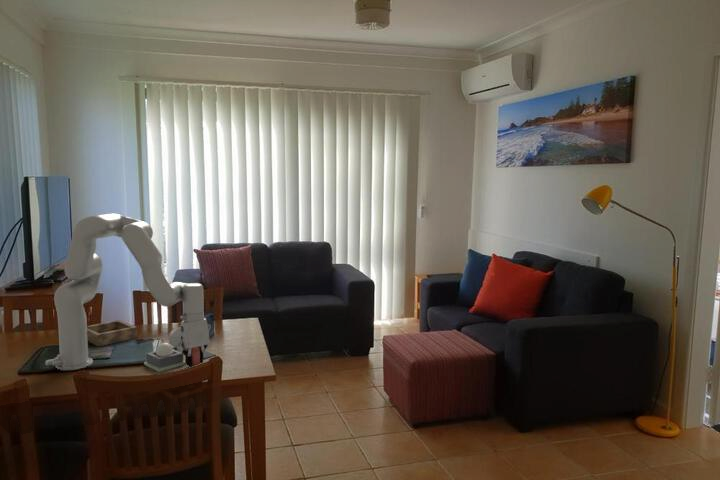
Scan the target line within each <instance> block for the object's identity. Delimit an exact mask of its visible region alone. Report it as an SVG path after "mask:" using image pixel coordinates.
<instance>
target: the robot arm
mask: <svg viewBox="0 0 720 480" xmlns="http://www.w3.org/2000/svg"><path fill="white" fill-rule="evenodd" d="M153 235H154V232H153V228H152V226H151V225H150V224H149V223H148V222H146V221H142V220H141V219H136V218H132V217H128V216H125V215H122V214H119V213H105V214H96V215H91V216H90V215H89V216H86V217H83V218H82V219H80V220H79V221H78V222H77V223H76V224H75V225H74V228H73V231H72V236H71V241H70V245H69V247H68V253H67V256H66V260H65V263H64V264H65V265H64V274H65V276H66V277H67V279H69V280H71V281H69V282H66V283H64V284H62V285H60V286H59V287H58V288H57V289H56V290H55V292H54V295H53V296H54V297H53V301H54V305H55V309H56V314H57V328H58V343H59V344H58V345H59V347H58V348H59V353H58V354H57V355H56V357H54V358H52V359H51V358H50V359H46V360H44V361H45V366H51V365H52V366H55V369H56V368H57V370H59V369H60V370H59V371H74V370H75V371H77V370H81V368H82V369H85V368H88V367H89V366H91V365H93V364H94V360H93V358H91V357H90V356H89V343H88V342H89V341H88V339H87V326H88V323H87V321H88V319H87V314H86V310H85V307H84V304H87V303H88V302H91V300H93V299H94V298H95V296H96V294H97V292H98V288H99V283H100V280H101V276H102V271H103V261H102V259H101V257H100V256H99V255H98V254H97V253H96V250H97V239H103V238H104V239H105V238H109V237H112V236H113V237H118V238H121V240H122V241H123V242H124V245H125V246H126V247H127V249H128V251H129V252H130V253H131V255H132V256H133V259H135V261H136V263H138V266H139V268H140V269H141V274H142V278H143V281H144V284H145V286H146V288H147V289H148V291H149V293H150V294H151V296H152V297H153V298H154V299H155V301H156V302H157V303H158V304H159V305H161V306H163V307H166V308H169V307H172V306H174V305H175V304H177V303H178V302H181V301H182V315H180V316H179V318H180V320H181V324H180V327H181V328H180V343H179V345H178V347H177V348H176V350H177V351H179V352H182V353H183V356H185V360H184V361H185V362H186V366H188V367H189V366H192V356H191V349H192V348H196V347H199V349H200V364H204V359H203V353H204V352H205V351H206V349H207V348H208V347H209V345H210V344H211V343H212V341H211V339H210V338H209V331H208V325H207V321H206V319H205V318H204V316H205V310H204V309H205V307H204V306H205V302H204V301H205V300H204V299H205V298H204V295H205V294H204V292H205V290H204V286H203V284H202V283H199V282H190V283H187V282H181V281H172V282H168V280H167V278H166V277H165V275H164V272H163V269H162V263H163V256H162V253H161V252H160V250H159V249H158V247H157V246H156V245H155V243H154V242H153V240H152V238H153ZM87 366H88V367H87Z"/></svg>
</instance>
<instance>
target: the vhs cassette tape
mask: <svg viewBox="0 0 720 480" xmlns="http://www.w3.org/2000/svg"><path fill="white" fill-rule="evenodd" d="M204 318H205V319H206V321H207V325H208V331H209V339H210V338H212V337H213V336H215V314H214V313H211V312H210V313H207V314H204Z"/></svg>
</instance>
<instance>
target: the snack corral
mask: <svg viewBox="0 0 720 480" xmlns="http://www.w3.org/2000/svg"><path fill="white" fill-rule="evenodd" d="M137 338H138V327H137V326H135V325H132V324H130V323H129V322H125V321H122V320H120V319H117V320H114V321H107V322H102V323H101V322H100V323H96V324H92V325H87V339H88V342H89V343H90V344H92V345H95V346H97V347H102V346H106V345H110V344H115V343H119V342H125V341H129V340H133V339H137Z"/></svg>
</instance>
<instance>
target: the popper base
mask: <svg viewBox="0 0 720 480" xmlns="http://www.w3.org/2000/svg"><path fill="white" fill-rule="evenodd" d="M172 349H173V348H172ZM156 351H157V350H155V351H151V352H147V353H146V361H144V362H143V365H144V366H145V367H146V366H147V367H148V368H150V369H152V370H154V371H156V372H160V373H161V372H163V371H167V370H170V369H174V368H177V367H181V366H184V365H186V360H184V354H183V353H182V352H180V351H178V350H177V349H173V355H169V356H165V357H159V356H157V355H156ZM186 366H187V365H186Z"/></svg>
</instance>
